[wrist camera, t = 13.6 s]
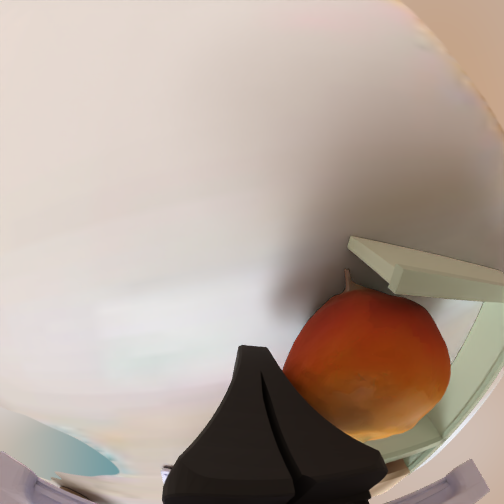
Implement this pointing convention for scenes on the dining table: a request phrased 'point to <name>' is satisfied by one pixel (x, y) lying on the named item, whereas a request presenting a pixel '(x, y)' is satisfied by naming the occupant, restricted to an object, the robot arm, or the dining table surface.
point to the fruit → (370, 362)
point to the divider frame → (469, 357)
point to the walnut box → (391, 477)
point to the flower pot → (73, 492)
